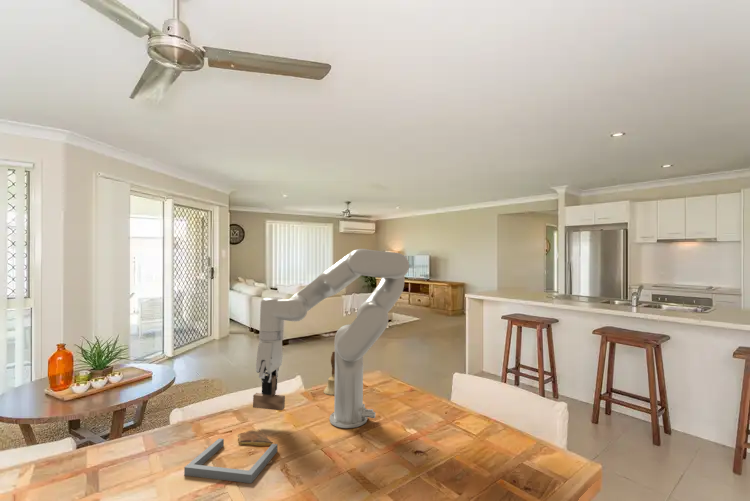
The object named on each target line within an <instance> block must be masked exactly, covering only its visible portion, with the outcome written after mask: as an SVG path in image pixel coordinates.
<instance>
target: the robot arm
mask: <svg viewBox="0 0 750 501" xmlns="http://www.w3.org/2000/svg"><path fill="white" fill-rule="evenodd" d="M409 268H410V263H409V260H408V258H407V257H406V256H405V255H404V254H402V253H401V252H392V251H381V250H374V249H368V248H358V249H354V250H352V251H350V252H349V253H348V254H346V255H345V256H343V257H342V258H340V259H339V260H338V261H337V262H336V263H334V264H332V265H331V266H330V267H329V268H328V269H327V268H326V269H325V271H324V272H322V273H321V274H320V275H318V276H317V277H316V278H315V279H314V280H312V281H311V282H310V283H308V284H307V285H306V286H304V287H303V288H302V289H300V290H299V291H297V292H296V293H295V294H294V295H292V296H291V297H290V298H287V299H284V298H282V297H280V296H279V297H277V296H268V297H267V296H266V297H263V298H262V299H261V301H260V312H259V314H260V315H259V334H258V335H259V336H258V338H259V340H258V341H259V342H258V346H257V353H256V363H255V372H256V373H257V374H258V378H259V379H261V393H262V394H265V395H271V394H272V382H271V375H274V376H276V391H277V390H278V377H279V370H280V367H281V366H282V364H283V341H284V326H285V321H289V322H300V321H303V319H304V318H305V317H306V316H307V314H308V312H309V311H311V309H313V308H314V307H315V306H316V305H318V304H320V302H323V301H324V300H326V299H328V298H331V297H332V296H336V295H337V294H339V293H340V292H342V291H343V290H344V289H346V288H347V286H349V285H351V284H352V283H353V282H354V281H356V280H357V279H359V278H360V277H361V276H366V277H373V278H380V281H379V283H378V284H377V286H376V287H375V288H374V290H373V291H372V292H371V294H370V295H369V296H368V297H367V298H366V299H365V300H364V301H363V303H362V304H360V306H359V307H358V309H357V310H356V317H355V319H354V320H353V321H352V323H351V324H345V325H342V326H341V327H339V328H338V330H336V333H335V336H334V352H335V395H334V404H333V406H334V407H333V408H334V409H333V410H334V412H332V413H331V414H330V415H329V422H330V424H331V425H333V426H334V427H337V428H341V429H353V428H359V427H362V426H363V425H364V424H366V423H367V421H368V418H369V419H376V411H374V409H373V408H371V409H369V408H366V404H365V403H364V400H363V398H364V356H365V355H366V354H367V353H368V352H369V350H370V349H371V347H373V345H374V344H375V343H376V342H377V341H378V340H379V338H380V337H381V336H382V335H383V333H384V331H385V330H386V329H387V326H388V324H389V312H390V311H391V310H392V308H393V307H394V306H395V304H396V303H397V302H398V301H399V299H400V297H401V295H402V294H403V291H404V289H405V288H404V287H405V280H406V279H405V276H406V275H407V273H408V272H409ZM267 375H268V376H267Z"/></svg>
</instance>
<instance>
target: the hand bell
mask: <svg viewBox="0 0 750 501" xmlns="http://www.w3.org/2000/svg"><path fill="white" fill-rule="evenodd" d="M330 365H331V376H329V377H328V379H327V384H326V387H325V388H324V389H323V394H325V395H327V396H335V351H332V353H331V356H330Z"/></svg>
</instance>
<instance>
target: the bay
mask: <svg viewBox="0 0 750 501" xmlns="http://www.w3.org/2000/svg"><path fill="white" fill-rule="evenodd" d="M224 441H225V440H224V438H218V439H216V440H215V441H214V442H213V443H212V444H210V445H209V446H208V447H207V448H206V449H205V450H203V451H202V452H201V453H200V454H198V455H197V456H196V457H195V458H194V459H192V460H191V461H190V462H189V463H188V464H186V465H185V466H184V467H183V468H184V472H183V473H184V474H183V475H184V476H188V477H196V478H204V479H212V480H220V481H230V482H237V483H245V484H252V483H253V482H254V481H255V479H257V477H258V476H259V474H261V472H262V471H263V470H264V468H266V466H267V465H268V464H269V462H271V460H272V459H273V458H274V456H276V455H277V453H278V447H279V446H278V443H272V445H271V446H268V448H267V450H265V451H264V453H263V454H262V455H261V456H260V457H259V458H258V459H257V461H256V462H255V463H253V465H252V466H251V468H250V469H249V470H247V469H246V470H244V469H238V468H229V467H221V466H220V467H219V466H210V465H204V464H205V463H206V462H207V461H209V459H210V458H212V457H213V456H214V455H215V454H216V453H217V452H218V451H220V450H221V449H222V448H223V447H224V443H225V442H224Z"/></svg>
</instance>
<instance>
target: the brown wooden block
mask: <svg viewBox="0 0 750 501" xmlns="http://www.w3.org/2000/svg"><path fill="white" fill-rule="evenodd" d="M266 376H268V375H267V374H266ZM271 382H272V394H271V395H265V394H262V392H255V393H254V394H253V395H252V397H253V398H252V408H255V409H264V410H273V411H280V412H281V411H284V409H285V407H286V406H285V404H286V403H285V402H286V400H285V399H286V396H285V395H282V394H276V393H277V392H276V391H277V390H276V376H274V375H271Z"/></svg>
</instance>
